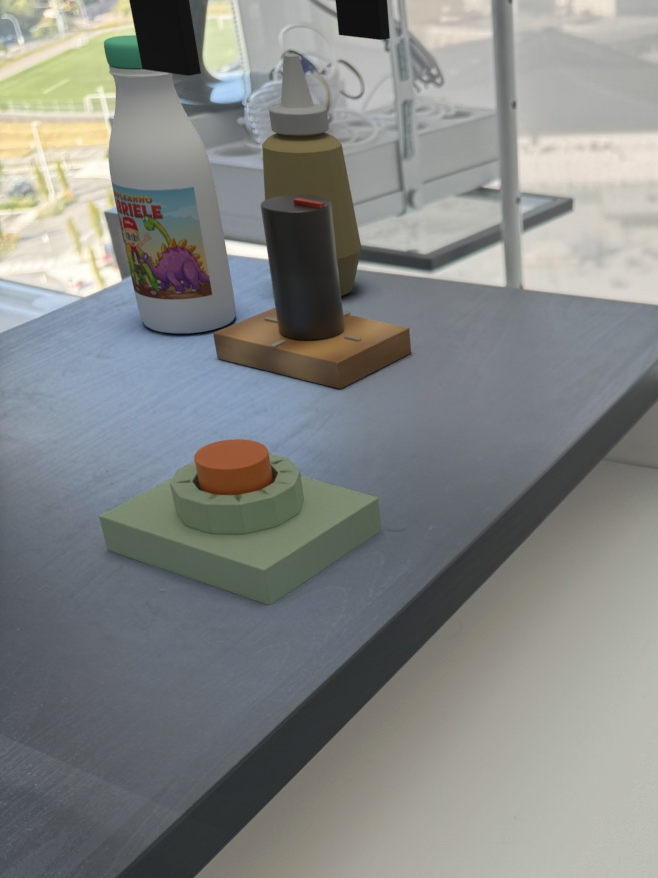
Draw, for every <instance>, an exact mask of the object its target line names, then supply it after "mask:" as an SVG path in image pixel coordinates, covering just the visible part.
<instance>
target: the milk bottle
mask: <svg viewBox="0 0 658 878" xmlns="http://www.w3.org/2000/svg"><path fill="white" fill-rule="evenodd" d="M103 48H104V55H105V59H106V62H107V64H108V69H109V71H108V73H109V74H110V75H111V76H112V77H113V82H114V87H115V103H114V104H115V105H114V113H113V114H114V115H113V120H112V124H111V125H112V126H111V129H110V130H111V131H110V135H109V141H108V167H109V176H110V182H111V186H112V193H113V198H114V203H115V207H116V212H117V218H118V222H119V227H120V231H121V236H122V242H123V245H124V250H125V254H126V261H127V264H128V269H129V273H130V278H131V282H132V286H133V292H134V296H135V301H136V305H137V309H138V314H139V318H140V320H141V321H142V323H143V324H144V326H145V327H146V328H149V329H150V330H153V331H156V332H160V333H165V334H166V333H167V334H195V333H203V332H209V331H213V330H216V329H220V328H223V327H226V326H228V325H229V324H231V323H232V322H233V321H234V320H235V317H236V313H237V308H236V301H235V294H234V288H233V282H232V281H233V280H232V276H231V270H230V264H229V258H228V252H227V245H226V240H225V233H224V229H223V228H224V227H223V223H222V216H221V212H220V211H221V210H220V205H219V199H218V193H217V190H216V189H217V188H216V184H215V179H214V174H213V170H212V165H211V161H210V158H209V155H208V153H207V152H208V151H207V150H206V147H205V145H204V142H203V140H202V138H201V136H200V135H199V133H198V131H197V130H196V127H195V126H194V125H193V123H192V121H191V119H190V118H189V115H188V114H187V113H186V110H185V108H184V106H183V104H182V102H181V100H180V97H179V95H178V92H177V90H176V88H175V84H174V79H173V74H172V73H165V72H158V71H151V70H144V69H142V64H141V59H140V54H139V49H138V43H137V38H136V34H132V35H131V34H130V35H119V36H112V37H109V38H106V39H105V40H104V41H103Z"/></svg>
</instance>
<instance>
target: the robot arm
mask: <svg viewBox="0 0 658 878" xmlns="http://www.w3.org/2000/svg"><path fill="white" fill-rule="evenodd" d="M129 6H130V11H131V12H130V13H131V16H132V20H133V21H132V22H133V27H134V32H135V35H136V38H137V43H138V49H139V54H140V59H141V64H142V69H144V70H151V71H158V72H165V73H172V75H180V76H187V77H189V76H195V75H199V74H202V71H201V65H200V58H199V53H198V47H197V40H196V33H195V29H194V28H195V27H194V22H193V16H192V10H191V9H192V8H191V4H190V0H129ZM388 6H389V5H388V0H335V9H336V20H337V31H338V35H339V36H344V37H352V38H360V39H370V40H376V41H377V40H378V41H383V40H388V39H391V34H390V22H389V21H390V20H389V7H388Z"/></svg>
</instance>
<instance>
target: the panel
mask: <svg viewBox="0 0 658 878" xmlns="http://www.w3.org/2000/svg"><path fill="white" fill-rule="evenodd" d="M351 314H352V313H351V312H350V311H344V312H343V318H344V327H345V328H344V330H343V332H342V333H340V334H338V335H336V336H333V337H330V338H325V339H319V340H298V339H292V338H288V337H285V336H283V335H282V334H281V333H280V332H279V328H278V322H277V315H276V308H275V307H273V308H271V309H270V308H269V309H268V310H265V311H263V312H261V313H258V314H256V315H253V316H251V317H248V318H245V319H244V320H241V321H239V322H236V323H234V324H232V325H229V326H225V327H224V328H221V329H219V330H216V331H214V332H212V335H213V342H214V346H215V347H214V348H215V351H216V352H215V353H216V357H217V359H218V360H222V361H226V362H230V363H234V364H238V365H242V366H246V367H250V368H255V369H259V370H263V371H265V372H266V371H267V372H269V373H274V374H279V375H282V376H286V377H290V378H294V379H299V380H302V381H307V382H311V383H315V384H319V385H322V386H326V387H330V388H334V389H339V390H341V389H343V388H345V387H348V386H350V385H351V384H354V383H356V382H357V381H360V380H362V379H363V378H365V377H367V376H369V375H372V374H373V373H376V372H377V371H379V370H381V369H384V368H385V367H386V366H388V365H390V364H393V363H394V362H397V361H399V360H400V359H402V358H405V357H407V356H409V355H411V354H412V348H411V346H412V345H411V334H410V328H409V327H407V326H401V325H397V324H393V323H390V322H389V323H388V322H383V321H379V320H374V319H371V318H365V317H360V316H356V315H351Z"/></svg>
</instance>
